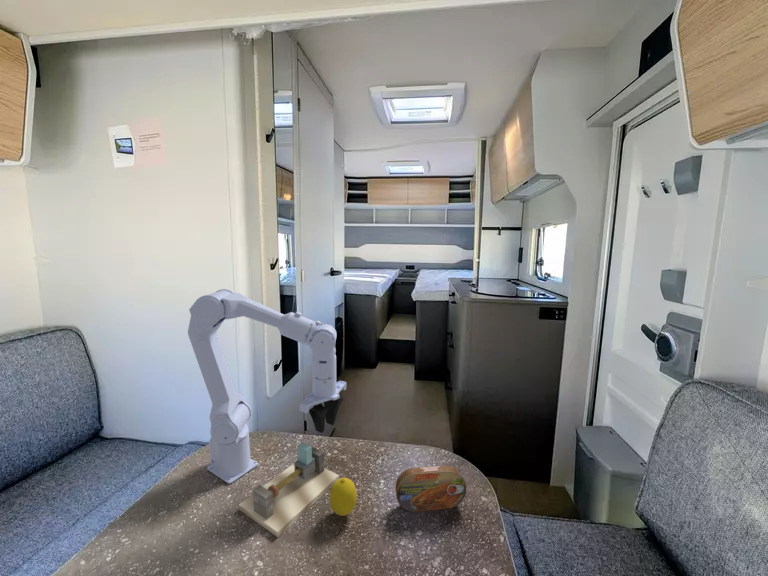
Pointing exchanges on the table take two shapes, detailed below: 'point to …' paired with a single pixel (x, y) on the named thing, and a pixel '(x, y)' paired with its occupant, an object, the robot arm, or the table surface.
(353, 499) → the lemon
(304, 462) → the sleeve
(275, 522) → the rod and block board
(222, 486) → the table surface
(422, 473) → the tin
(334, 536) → the table surface
